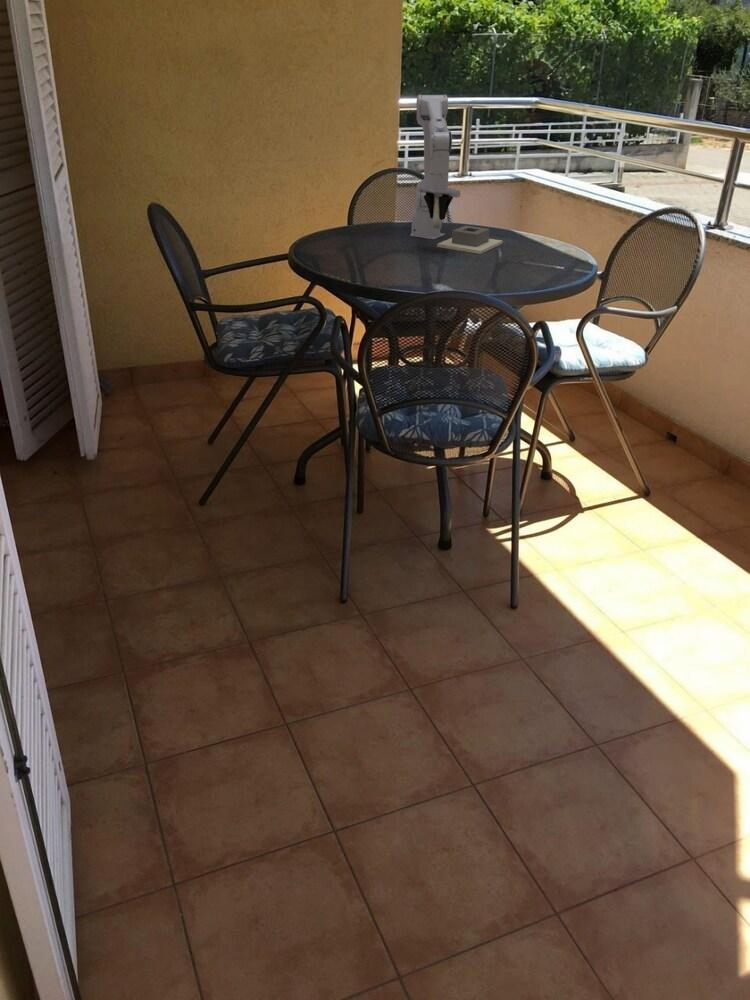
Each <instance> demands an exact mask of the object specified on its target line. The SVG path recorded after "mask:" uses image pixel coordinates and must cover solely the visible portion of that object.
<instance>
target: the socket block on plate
mask: <svg viewBox="0 0 750 1000" xmlns="http://www.w3.org/2000/svg"><path fill="white" fill-rule="evenodd" d="M503 242H504V241H503V240H502V239H501V240H500V239H494V238H490V228H484V227H477V226H472V225H464V226H461V227H458V228H455V229H453V230H452V231H451V237H450V238H448V239H446V240H443V241H441V242H439V243H436V247H437V248H442V249H447V250H454V251H460V252H465V253H466V252H467V253H474V254H479V255H482V254H484V253H485V252H487V251H489V250H492V249H494V248H496V247H499V246H500V245H503Z"/></svg>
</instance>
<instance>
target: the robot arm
mask: <svg viewBox="0 0 750 1000" xmlns="http://www.w3.org/2000/svg"><path fill="white" fill-rule="evenodd" d="M448 110H449V97H448V95H447V94H418V95H417V97H416V121H417V125H420V126H421V127H422V131H423V179H422V180H420V181H419V182H418V183H417V185H416V187H415V189H416V190H415V206H416V207H415V208H414V210H413V212H412V214H411V233H410V235H409V236H410V237H418V238H422V239H429V240H435V239H438V238H441V237H443V236H445V235H446V234H445V233H444V232H443V233H442V232H441V229H434V228H432V226H433V200H434V195H442V196H441V197H439V204H440V220H442V221H444V220H446V215H447V212H448V209H449V206H450V205H451V203H452V200H453V199H454V198H455V199H457V198H460V197H461V190H460V189H454V188H450V187H449V173H450V171H449V169H450V168H449V166H450V152H452V147H453V135H452V131H451V130H449V128H448V123H447V120H446V118H447V115H448Z"/></svg>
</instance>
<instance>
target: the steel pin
mask: <svg viewBox="0 0 750 1000" xmlns="http://www.w3.org/2000/svg"><path fill="white" fill-rule="evenodd" d="M441 196H442V195H434V200H433V226H432V228H434V229H440V230H441V229H442V228H443V220H440V204H439V197H441Z"/></svg>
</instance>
